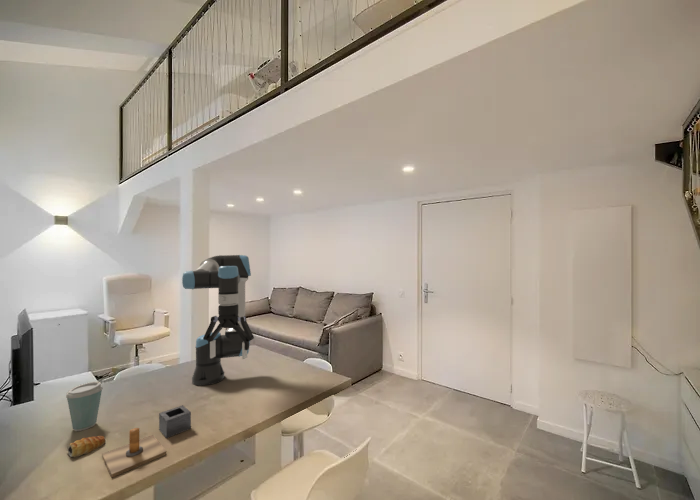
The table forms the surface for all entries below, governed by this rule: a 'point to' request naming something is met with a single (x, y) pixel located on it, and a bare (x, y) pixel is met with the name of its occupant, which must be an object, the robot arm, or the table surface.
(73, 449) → the pastry
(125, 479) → the table surface
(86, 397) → the disposable coffee cup
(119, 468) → the keeper
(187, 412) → the hollow square block
